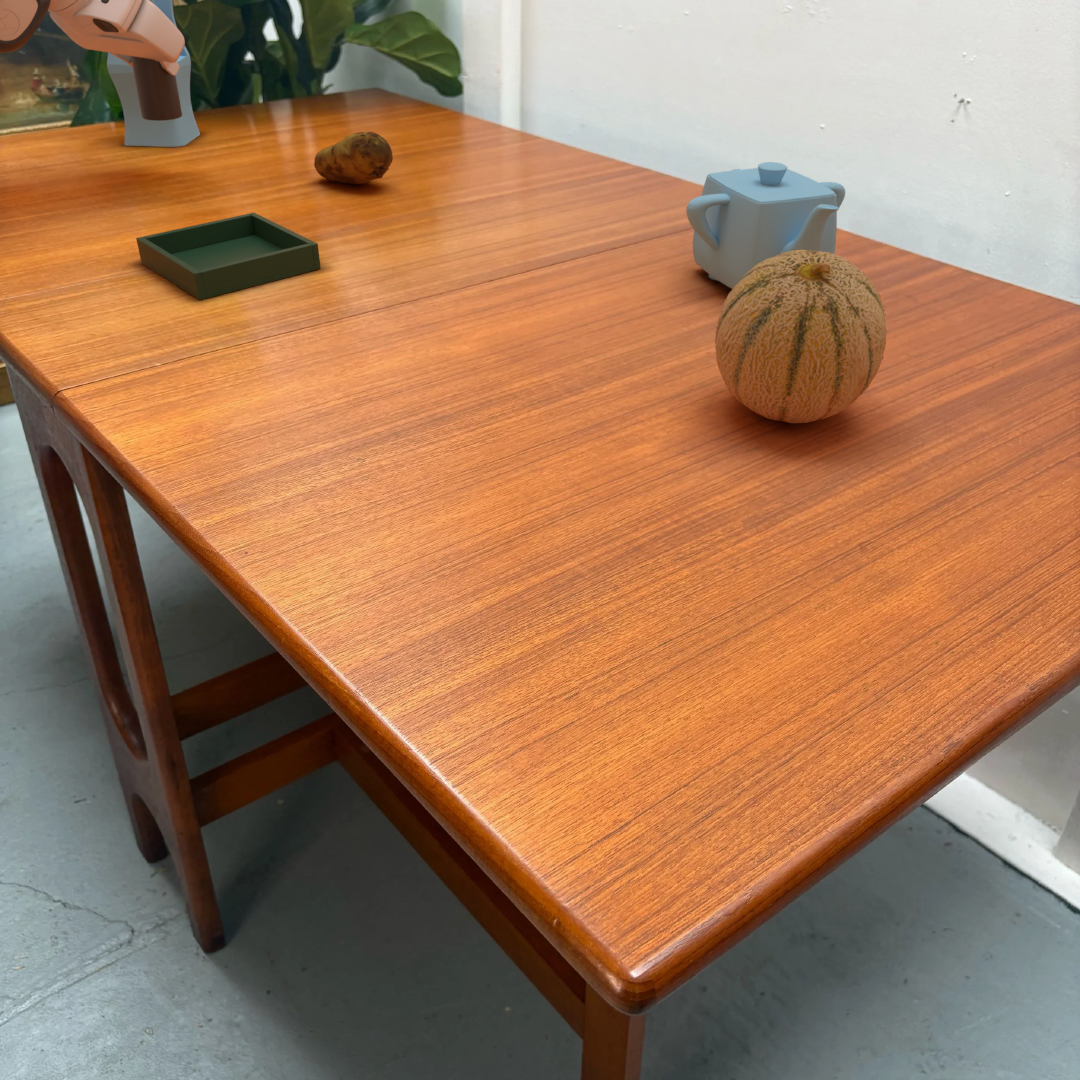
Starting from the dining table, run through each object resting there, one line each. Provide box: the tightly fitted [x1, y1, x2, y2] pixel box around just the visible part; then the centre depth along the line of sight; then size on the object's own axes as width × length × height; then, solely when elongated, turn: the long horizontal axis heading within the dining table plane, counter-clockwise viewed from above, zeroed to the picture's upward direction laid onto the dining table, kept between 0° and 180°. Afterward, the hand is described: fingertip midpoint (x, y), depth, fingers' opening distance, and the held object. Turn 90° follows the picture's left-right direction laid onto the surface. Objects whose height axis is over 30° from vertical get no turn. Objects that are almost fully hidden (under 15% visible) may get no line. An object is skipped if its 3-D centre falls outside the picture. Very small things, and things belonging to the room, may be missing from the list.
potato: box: [313, 131, 394, 185], centre depth 148 cm, size 8×13×8 cm, turn 39°
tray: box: [135, 212, 322, 301], centre depth 122 cm, size 16×16×3 cm
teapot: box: [685, 161, 846, 290], centre depth 115 cm, size 18×16×14 cm
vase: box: [106, 0, 201, 148], centre depth 165 cm, size 10×10×25 cm
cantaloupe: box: [714, 250, 888, 424], centre depth 89 cm, size 15×15×15 cm
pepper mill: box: [131, 56, 182, 121], centre depth 146 cm, size 6×6×13 cm
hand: (157, 68), depth 146 cm, fingers closed on pepper mill, 5 cm apart
